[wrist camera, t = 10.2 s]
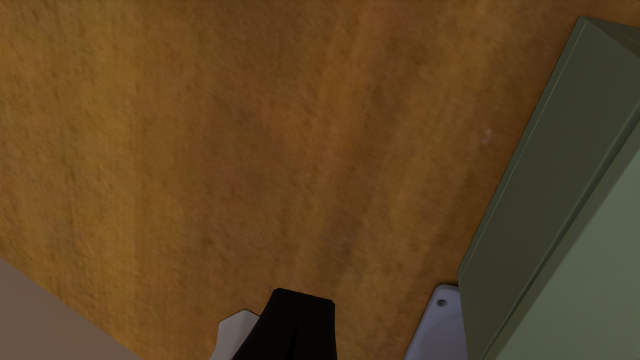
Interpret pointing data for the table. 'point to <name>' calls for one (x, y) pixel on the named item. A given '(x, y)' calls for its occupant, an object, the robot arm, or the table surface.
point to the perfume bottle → (233, 334)
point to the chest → (551, 173)
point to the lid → (587, 280)
